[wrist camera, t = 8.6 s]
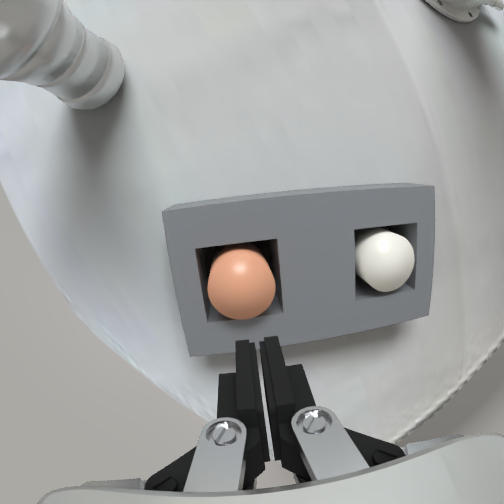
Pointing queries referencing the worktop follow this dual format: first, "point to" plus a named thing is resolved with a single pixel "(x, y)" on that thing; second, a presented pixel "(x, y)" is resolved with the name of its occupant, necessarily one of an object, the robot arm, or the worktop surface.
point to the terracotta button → (240, 281)
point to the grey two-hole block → (301, 261)
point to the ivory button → (382, 258)
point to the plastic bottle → (57, 53)
